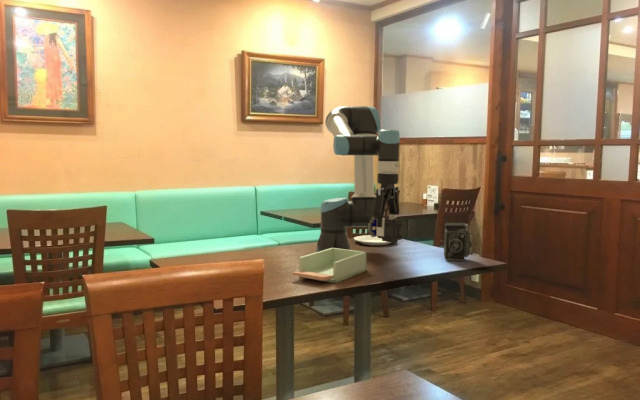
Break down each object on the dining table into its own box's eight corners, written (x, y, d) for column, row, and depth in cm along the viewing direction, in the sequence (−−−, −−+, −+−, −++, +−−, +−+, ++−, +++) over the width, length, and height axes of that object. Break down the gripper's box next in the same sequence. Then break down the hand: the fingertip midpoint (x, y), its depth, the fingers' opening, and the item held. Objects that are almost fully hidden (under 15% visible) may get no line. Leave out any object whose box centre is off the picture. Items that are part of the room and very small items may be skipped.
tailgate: (303, 273, 178) (292, 275, 172) (303, 270, 178) (292, 272, 172) (333, 278, 171) (323, 280, 166) (334, 275, 171) (323, 277, 166)
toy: (377, 214, 194) (410, 219, 184) (376, 236, 195) (409, 242, 185) (363, 216, 188) (397, 221, 178) (362, 239, 189) (396, 245, 179)
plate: (387, 248, 233) (387, 243, 233) (346, 244, 244) (346, 239, 243) (402, 241, 252) (402, 237, 251) (364, 238, 262) (364, 233, 261)
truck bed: (299, 276, 178) (299, 257, 178) (332, 265, 196) (332, 247, 196) (335, 283, 170) (335, 262, 169) (366, 270, 188) (366, 252, 188)
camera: (471, 263, 203) (473, 226, 202) (444, 261, 205) (445, 225, 204) (469, 257, 213) (470, 222, 212) (443, 256, 215) (444, 221, 214)
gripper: (384, 174, 173) (382, 239, 175) (409, 171, 191) (407, 230, 194) (364, 173, 177) (363, 237, 179) (391, 171, 195) (390, 228, 198)
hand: (386, 233), depth 186 cm, fingers closed on toy, 9 cm apart
